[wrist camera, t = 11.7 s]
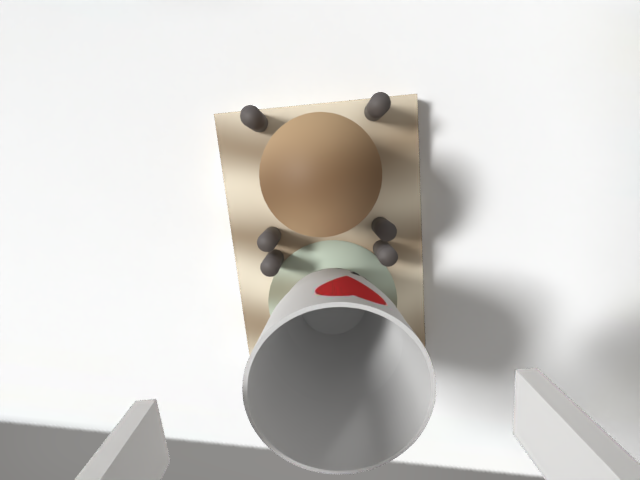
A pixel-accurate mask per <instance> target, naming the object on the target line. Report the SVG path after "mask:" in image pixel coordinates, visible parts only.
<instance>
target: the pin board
mask: <svg viewBox="0 0 640 480" xmlns="http://www.w3.org/2000/svg"><path fill="white" fill-rule="evenodd" d="M312 112H329V113H335V114H338V115H341V116H344V117H346V118H348V119H350V120H352V121H354V122H355V123H356V124H358V125H359V126H360V127H362V128H363V129H364V131H365V132H366V133H367V134H368V135H369V136H370V138H371V139H372V140H373V142H374V144H375V146H376V148H377V150H378V153H379V156H380V160H381V164H382V185H381V190H380V193H379V196H378V199H377V201H376V203H375V205H374V207H373V209H372V210H371V211H370V213H369V214H368V215H367V217H366V218H365V219H364V220H363V221H362V222H360V223H359V224H358V225H357V226H355V227H354V228H352V229H350V230H349V231H346V232H344V233H342V234H339V235H335V236H330V237H311V236H306V235H303V234H300V233H297V232H295V231H293V230H291V229H289V228H288V227H286V226H285V225H284V224H282V223H281V222H280V221H279V220H278V219H277V218H276V217H275V216H274V215H273V213H272V212H271V211H270V209H269V208H268V206H267V204H266V202H265V200H264V198H263V195H262V192H261V187H260V180H259V169H260V162H261V158H262V155H263V152H264V149H265V147H266V145H267V143H268V141H269V140H270V138H271V137H272V136H273V134H274V133H275V132H276V131H277V130H278V129H279V128H280V127H281V126H282V125H284V124H285V123H287V122H288V121H290V120H291V119H293V118H295V117H298V116H300V115H303V114H306V113H312ZM214 118H215V124H216V131H217V138H218V145H219V152H220V158H221V165H222V172H223V179H224V185H225V192H226V199H227V206H228V212H229V219H230V226H231V233H232V240H233V246H234V253H235V260H236V267H237V273H238V280H239V287H240V294H241V301H242V307H243V314H244V321H245V328H246V334H247V341H248V348H249V355H250V354H251V352H252V350H253V348H254V346H255V345H256V343H257V341H258V339H259V337H260V335H261V333H262V331H263V329H264V327H265V326H266V324H267V322H268V320H269V318H270V316H271V314H272V312H273V310H274V309H275V307H276V306H277V304H278V303H279V302H280V301H281V300H282V299H283V297H284V296H285V295H286V294H287V293H288V292H289V291H290V290H291V289H292V287H293V286H294V285H295V284H296V283H297V282H298V281H299V280H301V279H302V278H303V277H305V276H306V275H308V274H310V273H312V272H315V271H318V270H321V269H327V268H341V269H346V270H350V271H353V272H355V273H358V274H359V275H361V276H363V277H364V278H366V279H367V280H368V281H369V282H371V283H372V284H373V285H374V286H375V287H377V288H378V289H379V290H380V291H381V292H383V293H384V294H385V295H386V296H387V297H388V298H389V299H390V300H391V301H392V302H393V304H394V305H395V306H396V308H397V309H398V311H399V312H400V313H401V315H402V316H403V317H404V319H405V320H406V322H407V323H408V324H409V326H410V327H411V328H412V330H413V331H414V333H415V334H416V335H417V337H418V338H419V340H420V341H421V342H422V344H423V345H424V347H425V323H424V292H423V260H422V229H421V198H420V166H419V135H418V103H417V94H409V95H399V96H388V95H387V94H386V93H383V92H378V93H376V94H374V95H373V96H372V97H371V98H369V99H359V100H349V101H339V102H329V103H319V104H309V105H299V106H289V107H279V108H269V109H258V108H257V107H255V106H252V105H248V106H245V107H244V108H243V109H242V110H241V111H239V112H228V113H218V114H214Z"/></svg>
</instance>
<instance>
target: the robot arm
mask: <svg viewBox="0 0 640 480" xmlns="http://www.w3.org/2000/svg"><path fill="white" fill-rule="evenodd" d="M513 435H514V436H515V438H516V439H517V440H518V442H519V443H520V445H521V446H522V447H523V449H524V450H525V452H526V453H527V454H528V456H529V457H530V459H531V460H532V461H533V463H534V464H535V466H536V467H537V468H538V470H539V471H540V472H541V474H542V475H543V477H544V478H545V479H546V480H640V464H639V463H638V462H637V461H636V460H635V459H634V458H633V457H632V456H631V455H630V454H629V453H628V452H627V451H626V450H625V449H623V448H622V447H621V446H620V445H619V444H618V443H617V442H616V441H615V440H614V439H613V438H612V437H611V436H610V435H608V434H607V433H606V432H605V431H604V430H603V429H602V428H601V427H600V426H599V425H598V424H597V423H596V422H595V421H593V420H592V419H591V418H590V417H589V416H588V415H587V414H586V413H585V412H584V411H583V410H582V409H581V408H580V407H579V406H577V405H576V404H575V403H574V402H573V401H572V400H571V399H570V398H569V397H568V396H567V395H566V394H565V393H564V392H562V391H561V390H560V389H559V388H558V387H557V386H556V385H555V384H554V383H553V382H552V381H551V380H550V379H549V378H547V377H546V376H545V375H544V374H543V373H542V372H541V371H540V370H539V369H538V368H527V369H516V371H515V394H514V417H513ZM169 463H170V457H169V453H168V449H167V444H166V439H165V435H164V431H163V427H162V422H161V418H160V414H159V409H158V405H157V401H156V399H152V400H140V401H135V402H134V404H133V405H132V406H131V407H130V409H129V410H128V411H127V413H126V414H125V415H124V416H123V418H122V419H121V420H120V422H119V423H118V424H117V425H116V427H115V428H114V429H113V431H112V432H111V433H110V435H109V436H108V437H107V438H106V440H105V441H104V442H103V443H102V445H101V446H100V447H99V449H98V450H97V451H96V453H95V454H94V455H93V456H92V458H91V459H90V460H89V462H88V463H87V464H86V465H85V467H84V468H83V469H82V471H81V472H80V473H79V474H78V476H77V477H76V478H75V480H161V479H162V477H163V475H164V473H165V471H166V469H167V467H168V465H169Z"/></svg>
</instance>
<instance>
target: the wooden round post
mask: <svg viewBox="0 0 640 480" xmlns="http://www.w3.org/2000/svg"><path fill="white" fill-rule="evenodd" d="M259 180H260V187H261V192H262V195H263V198H264V200H265V202H266V204H267V206H268V208H269V209H270V211H271V212H272V213H273V215H274V216H275V217H276V218H277V219H278V220H279V221H280V222H281V223H282V224H284V225H285V226H286V227H288V228H289V229H291V230H293V231H295V232H297V233H300V234H303V235H306V236H311V237H330V236H335V235H339V234H342V233H344V232H346V231H349V230H350V229H352V228H354V227H355V226H357V225H358V224H359V223H360V222H362V221H363V220H364V219H365V218H366V217H367V215H368V214H369V213H370V211H371V210H372V209H373V207H374V205H375V203H376V201H377V199H378V196H379V193H380V190H381V185H382V164H381V160H380V156H379V153H378V150H377V148H376V146H375V144H374V142H373V140H372V139H371V138H370V136H369V135H368V134H367V133H366V132H365V131H364V129H363V128H362V127H360V126H359V125H358V124H356V123H355V122H354V121H352V120H350V119H348V118H346V117H344V116H341V115H338V114H335V113H329V112H312V113H306V114H303V115H300V116H298V117H295V118H293V119H291V120H290V121H288V122H287V123H285V124H284V125H282V126H281V127H280V128H279V129H278V130H277V131H276V132H275V133H274V134H273V136H272V137H271V138H270V140H269V141H268V143H267V145H266V147H265V149H264V152H263V155H262V158H261V162H260V169H259Z"/></svg>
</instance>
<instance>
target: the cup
mask: <svg viewBox="0 0 640 480" xmlns="http://www.w3.org/2000/svg"><path fill="white" fill-rule="evenodd" d="M242 389H243V401H244V406H245V410H246V413H247V416H248V418H249V421H250V423H251V425H252V427H253V428H254V430H255V432H256V433H257V435H258V436H259V437H260V439H261V440H262V441H263V442H264V443H265V444H266V445H267V446H268V447H269V448H270V449H271V450H272V451H273V452H275V453H276V454H277V455H279V456H280V457H282V458H283V459H285V460H286V461H288V462H290V463H292V464H294V465H296V466H299V467H301V468H304V469H307V470H311V471H314V472H319V473H326V474H352V473H358V472H363V471H367V470H370V469H374V468H377V467H379V466H381V465H384V464H386V463H388V462H390V461H391V460H393V459H395V458H396V457H398V456H399V455H401V454H402V453H403V452H405V451H406V450H407V449H408V448H409V447H410V446H411V445H412V444H413V443H414V442H415V441H416V440H417V439H418V437H419V436H420V435H421V433H422V432H423V430H424V429H425V427H426V425H427V423H428V421H429V419H430V417H431V414H432V411H433V408H434V403H435V397H436V378H435V372H434V368H433V364H432V362H431V359H430V357H429V354H428V352H427V350H426V349H425V347H424V345H423V344H422V342H421V341H420V340H419V338H418V337H417V335H416V334H415V333H414V331H413V330H412V328H411V327H410V326H409V324H408V323H407V322H406V320H405V319H404V317H403V316H402V315H401V313H400V312H399V311H398V309H397V308H396V306H395V305H394V304H393V302H392V301H391V300H390V299H389V298H388V297H387V296H386V295H385V294H384V293H383V292H381V291H380V290H379V289H378V288H377V287H375V286H374V285H373V284H372V283H371V282H369V281H368V280H367V279H366V278H364V277H363V276H361V275H359V274H358V273H355V272H353V271H350V270H346V269H341V268H327V269H321V270H318V271H315V272H312V273H310V274H308V275H306V276H305V277H303V278H302V279H301V280H299V281H298V282H297V283H296V284H295V285H294V286H293V287H292V289H291V290H290V291H289V292H288V293H287V294H286V295H285V296H284V297H283V299H282V300H281V301H280V302H279V303H278V304H277V306H276V307H275V309H274V310H273V312H272V314H271V316H270V318H269V320H268V322H267V324H266V326H265V327H264V329H263V331H262V333H261V335H260V337H259V339H258V341H257V343H256V345H255V346H254V348H253V350H252V352H251V354H250V356H249V359H248V361H247V364H246V367H245V371H244V376H243V387H242Z"/></svg>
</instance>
